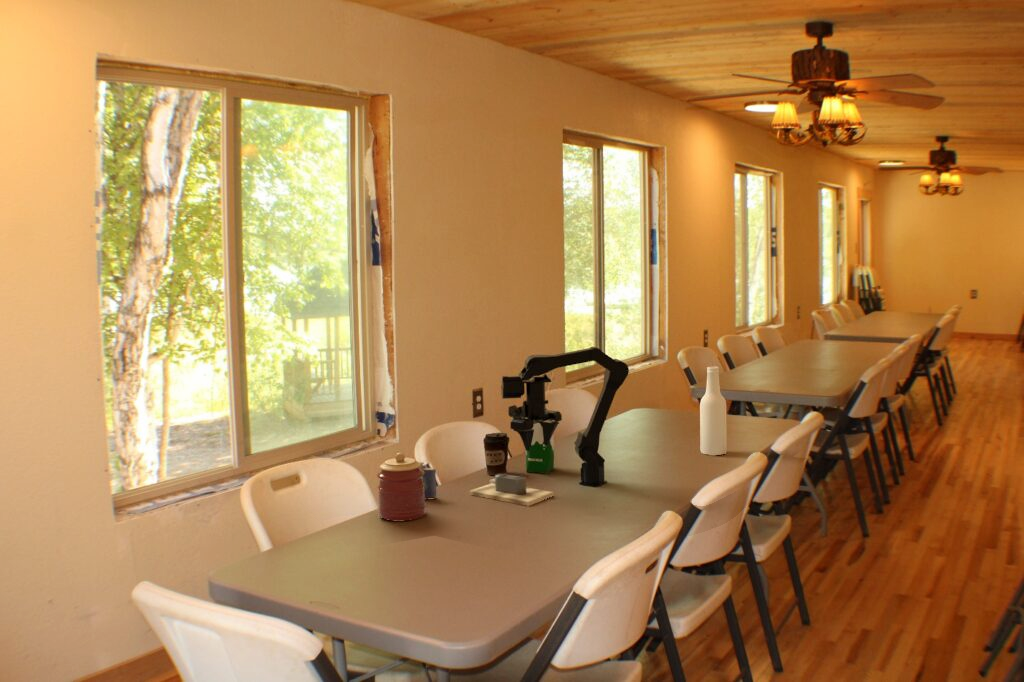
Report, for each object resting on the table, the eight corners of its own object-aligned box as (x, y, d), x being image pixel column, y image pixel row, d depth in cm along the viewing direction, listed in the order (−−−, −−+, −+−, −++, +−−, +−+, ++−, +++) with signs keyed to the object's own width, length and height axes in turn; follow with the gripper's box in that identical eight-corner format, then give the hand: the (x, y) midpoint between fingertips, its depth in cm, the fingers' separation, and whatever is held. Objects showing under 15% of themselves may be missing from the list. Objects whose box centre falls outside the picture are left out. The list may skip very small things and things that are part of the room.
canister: (388, 525, 250) (385, 460, 248) (372, 513, 262) (369, 451, 260) (433, 517, 256) (430, 454, 254) (415, 506, 268) (413, 445, 266)
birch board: (553, 496, 274) (553, 492, 274) (528, 506, 264) (528, 501, 264) (495, 485, 287) (495, 482, 287) (469, 494, 278) (469, 490, 278)
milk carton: (557, 467, 308) (555, 407, 306) (547, 474, 299) (546, 412, 297) (532, 466, 311) (530, 406, 309) (522, 472, 303) (520, 411, 301)
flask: (438, 497, 276) (436, 462, 275) (433, 500, 273) (432, 464, 272) (410, 495, 279) (408, 460, 278) (405, 498, 277) (403, 462, 276)
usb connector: (528, 492, 274) (528, 477, 273) (521, 495, 271) (520, 480, 271) (495, 486, 282) (495, 472, 281) (487, 489, 279) (487, 474, 278)
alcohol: (730, 452, 322) (729, 366, 319) (721, 457, 315) (720, 369, 312) (705, 449, 327) (705, 364, 324) (696, 455, 320) (695, 368, 317)
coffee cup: (507, 477, 297) (505, 437, 296) (481, 476, 299) (480, 436, 297) (512, 470, 306) (511, 431, 304) (487, 470, 307) (486, 431, 306)
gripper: (533, 390, 294) (534, 439, 295) (495, 399, 279) (497, 451, 281) (562, 393, 287) (563, 443, 289) (524, 402, 272) (526, 455, 274)
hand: (537, 448), depth 283 cm, fingers open, 9 cm apart
